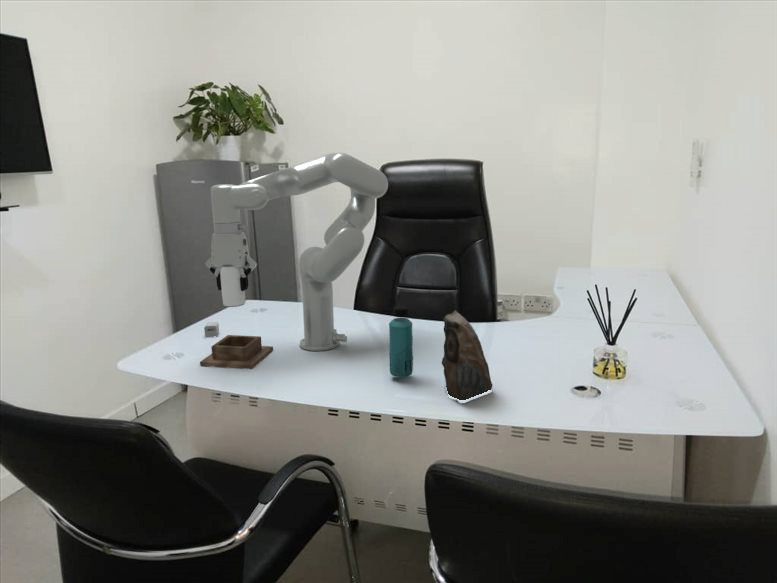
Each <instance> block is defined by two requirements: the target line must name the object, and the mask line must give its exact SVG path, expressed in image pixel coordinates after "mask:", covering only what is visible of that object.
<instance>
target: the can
mask: <svg viewBox="0 0 777 583" xmlns="http://www.w3.org/2000/svg"><path fill="white" fill-rule="evenodd" d="M220 278H221V289H222V290H221V298H222V305H223V306H224V307H227V308H236V307H237V308H238V307H242V306H244V305H245V304H246V290H245V291H241V285H240V278H241V274H240V272H239V270H238V268H234V266H222V268H221V269H220Z"/></svg>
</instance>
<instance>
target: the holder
mask: <svg viewBox="0 0 777 583" xmlns="http://www.w3.org/2000/svg"><path fill="white" fill-rule="evenodd" d="M210 347H211V353H210V354H209V355H208V356H206V357H205V358H203V359H202V360H201V361H200V362H199V366H200V365H201V367H210V366H215V367H214V368H227V367H229V368H228V369H243V368H250V369H249V370H253V369H254V368H255V367H256V366H257V365H259V363H261V362H262V361H263V360H264V359H265V358H266V357H267V356H268V355H269V354H271V353H272V352H273V351H274V346H271V345H270V346H268V345H263V344H262V336H254V335H237V334H235V335H233V334H228V335H226V336H224V337H223V338H221V339H219V340H218V341H217V342H216V343H214V344H213V345H212V346H210ZM260 361H261V362H260ZM253 367H254V368H253ZM252 368H253V369H252Z"/></svg>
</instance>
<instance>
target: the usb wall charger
mask: <svg viewBox="0 0 777 583" xmlns="http://www.w3.org/2000/svg"><path fill="white" fill-rule="evenodd" d="M219 326H220V325H219V322H217V321H212V322H211V321H210V322H207V323H206V324H205V325H204V327H203V328H204V336H205V338H215V337H214V336H216V337H217V336H218V335H219V332H220V328H219Z"/></svg>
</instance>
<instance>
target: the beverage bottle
mask: <svg viewBox="0 0 777 583" xmlns="http://www.w3.org/2000/svg"><path fill="white" fill-rule="evenodd" d="M392 315H393V317H394V318H393V319H391V321H390V322H389V323H388V326H389V328H388V331H389V349H388V352H389V353H388V354H389V373H390V375H391V376H393V377H396V378H407V377H410V376H412V374H413V371H414V368H413V367H414V355H413V354H414V352H413V341H414V339H413V338H414V337H413V322H412V321H411V320H410V319H409V318H406V317H408V316H409V307H407V306H405V305H397V306H394V307H393V309H392Z"/></svg>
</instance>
